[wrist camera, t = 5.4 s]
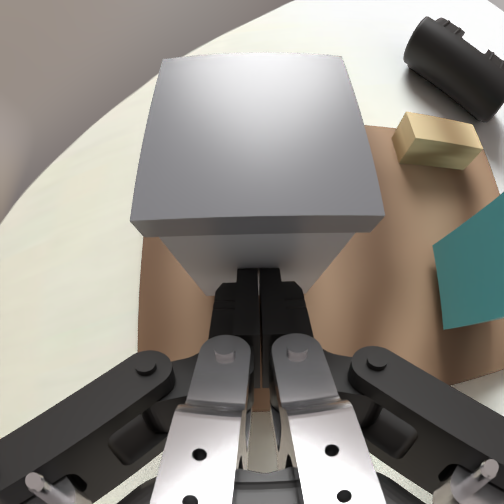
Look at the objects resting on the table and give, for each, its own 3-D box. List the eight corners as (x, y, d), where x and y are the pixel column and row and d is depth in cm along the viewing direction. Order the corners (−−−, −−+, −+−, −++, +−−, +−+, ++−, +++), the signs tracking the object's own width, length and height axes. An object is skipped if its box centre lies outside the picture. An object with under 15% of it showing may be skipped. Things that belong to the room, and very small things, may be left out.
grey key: (202, 299, 16) (129, 221, 6) (205, 202, 18) (162, 59, 8) (309, 297, 16) (385, 215, 6) (302, 200, 18) (341, 56, 8)
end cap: (394, 73, 25) (415, 21, 18) (418, 52, 26) (437, 8, 20) (476, 137, 23) (512, 93, 16) (489, 107, 24) (518, 68, 18)
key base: (147, 402, 16) (117, 415, 12) (163, 139, 22) (148, 98, 18) (514, 361, 16) (555, 357, 12) (472, 151, 22) (497, 122, 18)
